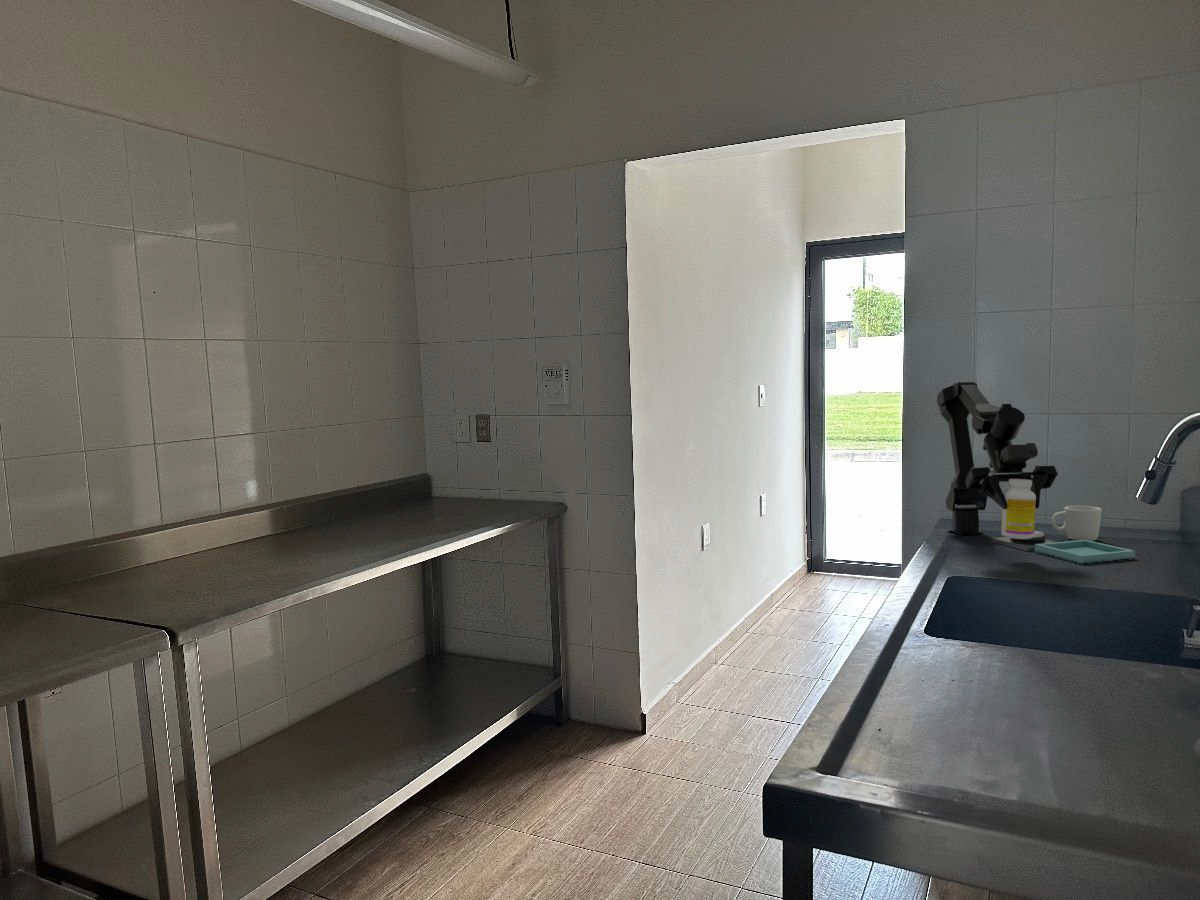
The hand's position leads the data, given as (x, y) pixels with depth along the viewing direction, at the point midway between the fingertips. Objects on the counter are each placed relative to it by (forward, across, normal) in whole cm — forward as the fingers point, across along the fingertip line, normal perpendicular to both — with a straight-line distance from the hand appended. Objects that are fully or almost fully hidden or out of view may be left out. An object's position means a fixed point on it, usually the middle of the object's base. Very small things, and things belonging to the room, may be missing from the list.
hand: (1021, 507), depth 189 cm
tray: (+6, +16, +11) cm, 20 cm away
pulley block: (-3, +9, +20) cm, 22 cm away
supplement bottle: (+4, 0, +6) cm, 7 cm away
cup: (-7, +23, +24) cm, 34 cm away
